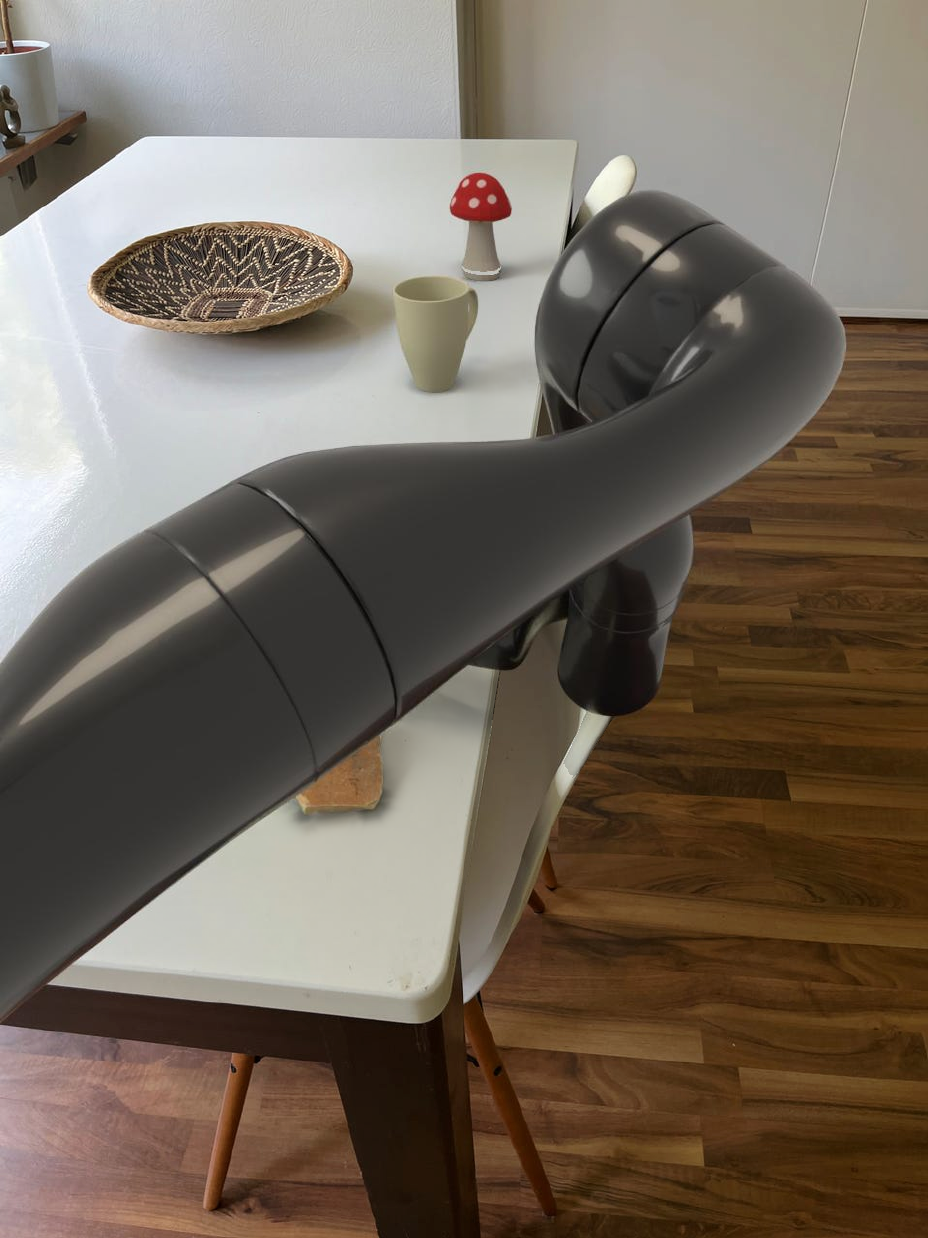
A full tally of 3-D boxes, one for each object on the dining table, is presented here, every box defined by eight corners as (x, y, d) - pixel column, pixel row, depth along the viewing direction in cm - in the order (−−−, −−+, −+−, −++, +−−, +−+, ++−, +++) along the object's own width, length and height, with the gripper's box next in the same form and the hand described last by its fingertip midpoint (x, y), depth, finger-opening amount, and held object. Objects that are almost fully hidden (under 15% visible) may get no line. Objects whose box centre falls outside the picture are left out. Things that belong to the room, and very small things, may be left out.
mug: (478, 399, 119) (476, 300, 112) (396, 399, 120) (389, 302, 112) (479, 362, 128) (477, 269, 121) (402, 363, 128) (397, 270, 121)
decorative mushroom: (523, 274, 155) (524, 172, 146) (487, 289, 150) (486, 184, 141) (475, 261, 160) (474, 162, 151) (439, 275, 155) (435, 173, 146)
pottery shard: (252, 726, 75) (247, 701, 73) (373, 707, 76) (370, 682, 75) (257, 831, 67) (251, 806, 65) (392, 808, 68) (390, 782, 66)
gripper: (419, 511, 76) (218, 485, 80) (352, 622, 65) (123, 585, 69) (424, 590, 80) (233, 562, 84) (362, 706, 69) (147, 667, 73)
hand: (185, 573), depth 76 cm, fingers closed on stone, 4 cm apart
